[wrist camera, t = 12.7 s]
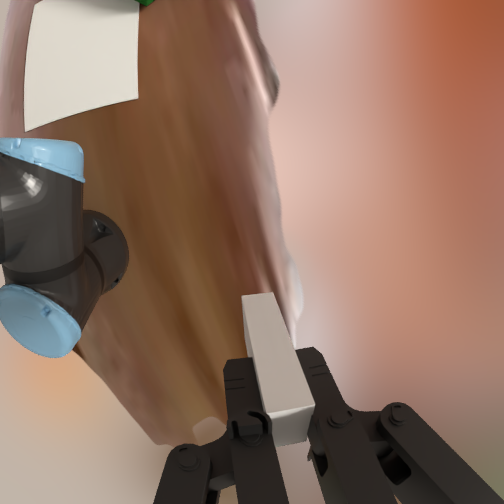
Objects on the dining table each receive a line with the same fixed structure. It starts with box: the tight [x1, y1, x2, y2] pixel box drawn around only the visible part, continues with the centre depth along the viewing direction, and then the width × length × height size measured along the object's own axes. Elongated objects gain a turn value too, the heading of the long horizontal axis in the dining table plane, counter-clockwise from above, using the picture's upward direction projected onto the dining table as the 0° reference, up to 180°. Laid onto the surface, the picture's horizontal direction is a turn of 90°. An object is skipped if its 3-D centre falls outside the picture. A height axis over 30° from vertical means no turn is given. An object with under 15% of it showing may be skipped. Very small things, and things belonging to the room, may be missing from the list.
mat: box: [24, 0, 140, 132], centre depth 28 cm, size 22×28×1 cm
